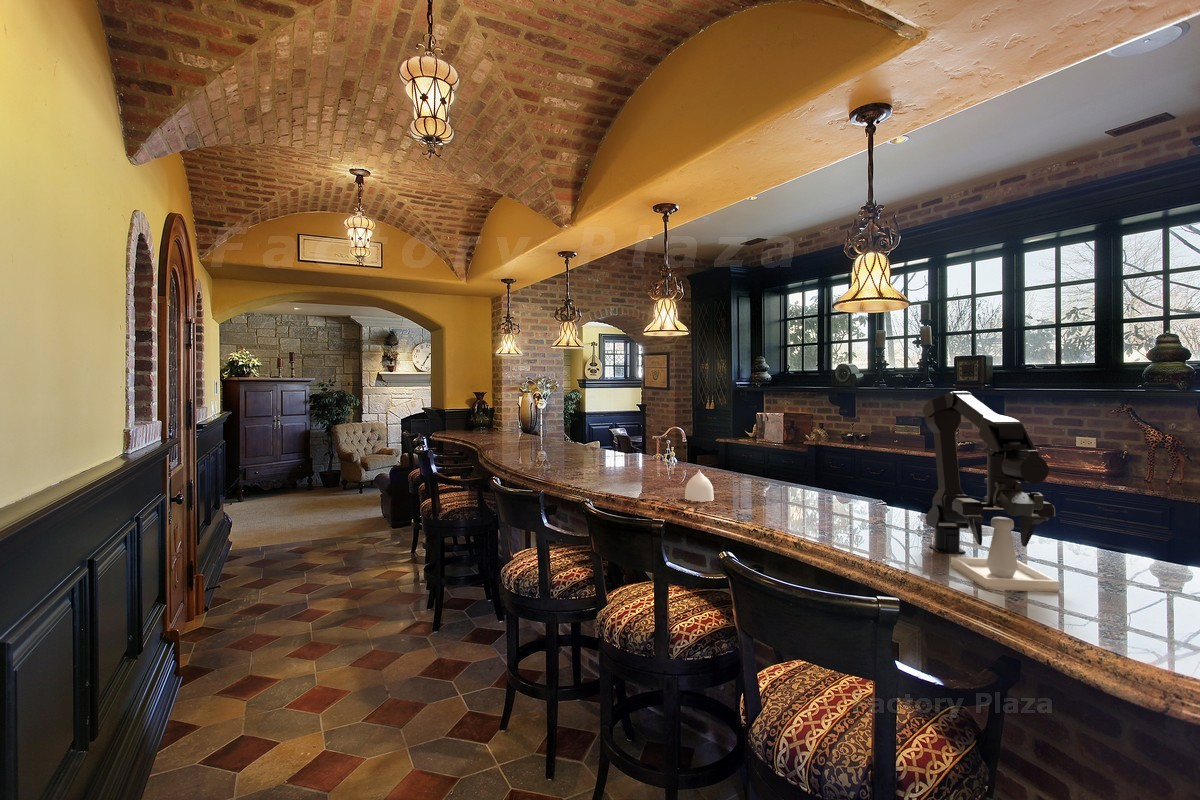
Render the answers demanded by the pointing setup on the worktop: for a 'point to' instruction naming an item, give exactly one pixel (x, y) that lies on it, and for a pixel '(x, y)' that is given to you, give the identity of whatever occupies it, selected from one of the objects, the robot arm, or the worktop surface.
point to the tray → (1021, 580)
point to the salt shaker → (1002, 549)
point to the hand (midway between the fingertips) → (1001, 545)
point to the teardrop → (699, 489)
